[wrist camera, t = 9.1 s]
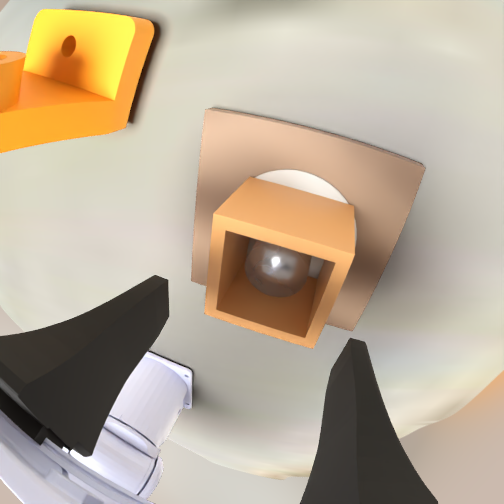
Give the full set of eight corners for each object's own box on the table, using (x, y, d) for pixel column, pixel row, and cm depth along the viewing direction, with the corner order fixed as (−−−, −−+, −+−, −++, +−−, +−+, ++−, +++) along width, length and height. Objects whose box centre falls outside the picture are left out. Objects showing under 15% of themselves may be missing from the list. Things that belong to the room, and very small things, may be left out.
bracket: (166, 23, 14) (-16, 14, 4) (133, 125, 18) (-26, 195, 8) (63, 9, 14) (-71, 24, 4) (43, 89, 18) (-79, 133, 8)
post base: (352, 321, 21) (352, 333, 20) (196, 273, 23) (189, 282, 22) (421, 163, 14) (426, 169, 13) (212, 107, 16) (203, 109, 15)
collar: (323, 289, 19) (312, 348, 15) (235, 262, 20) (204, 313, 15) (354, 205, 15) (355, 254, 11) (249, 176, 16) (213, 213, 12)
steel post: (311, 252, 19) (298, 304, 15) (265, 239, 19) (240, 286, 15) (324, 210, 17) (314, 255, 13) (274, 196, 18) (249, 236, 14)
